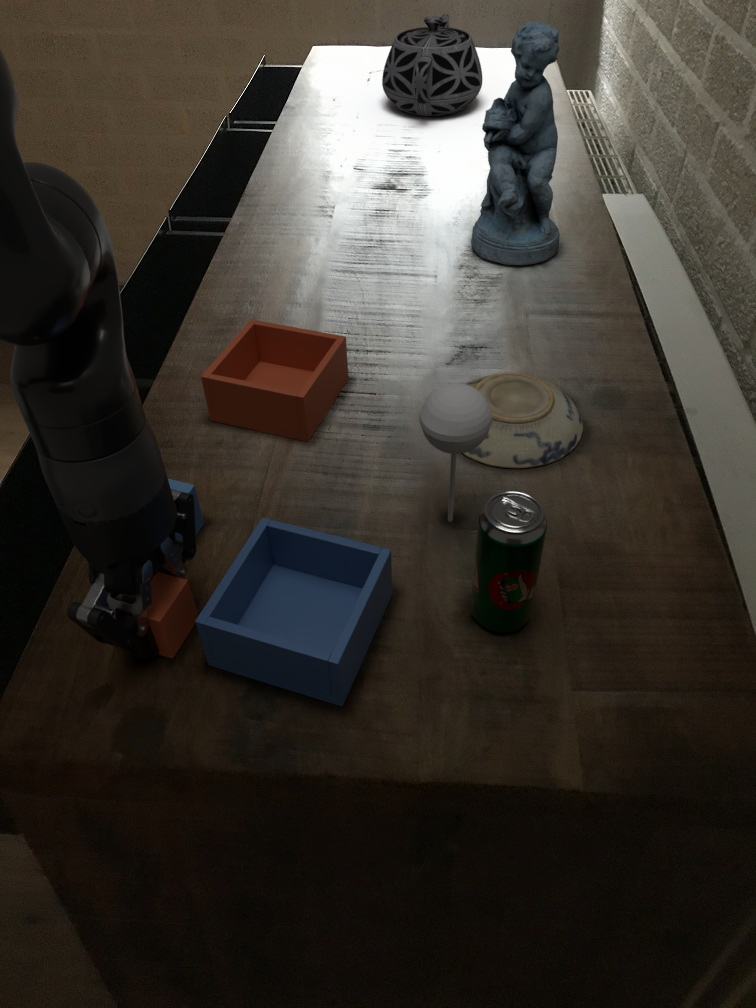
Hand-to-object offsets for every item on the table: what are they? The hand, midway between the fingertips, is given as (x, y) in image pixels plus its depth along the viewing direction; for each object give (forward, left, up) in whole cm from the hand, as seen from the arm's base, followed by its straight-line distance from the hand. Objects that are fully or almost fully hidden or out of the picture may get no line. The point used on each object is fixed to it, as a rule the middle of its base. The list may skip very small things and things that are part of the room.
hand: (162, 628), depth 66 cm
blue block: (-5, +10, 0) cm, 11 cm away
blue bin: (+11, +4, 0) cm, 12 cm away
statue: (+12, +76, 0) cm, 77 cm away
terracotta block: (0, 0, 0) cm, 0 cm away
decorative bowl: (+21, +36, 0) cm, 42 cm away
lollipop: (+19, +20, 0) cm, 28 cm away
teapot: (-16, +128, 0) cm, 129 cm away
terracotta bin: (-4, +32, 0) cm, 32 cm away
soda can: (+26, +11, 0) cm, 28 cm away
